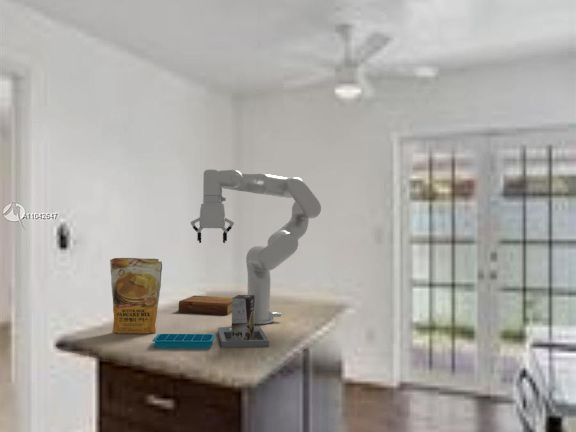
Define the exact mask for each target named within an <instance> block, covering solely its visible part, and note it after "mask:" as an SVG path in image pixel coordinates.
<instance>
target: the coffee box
mask: <svg viewBox="0 0 576 432" xmlns="http://www.w3.org/2000/svg"><path fill="white" fill-rule="evenodd" d="M254 303H255V295H248V294H236V295H235V296H234V297H233V298H232V313H231V327H232V337H230V338H231V340H230V341H234V340H255V337H254V327H255V324H254Z"/></svg>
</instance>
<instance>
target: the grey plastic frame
mask: <svg viewBox="0 0 576 432" xmlns="http://www.w3.org/2000/svg"><path fill="white" fill-rule="evenodd" d="M217 335H218V338H219V341H220V342H219V343H220V345H221V348H222V349H224V348H254V347H255V348H257V347H258V348H261V347H270V340H269V338H268V336H267V335H266V334H265V332H264V331H263V329H262V327H261V326H254V338H259V339H254V340H234V341H231V340H227V338H228V339H229V338H232V326H224V327H223V326H222V327H221V326H218V327H217Z"/></svg>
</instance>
